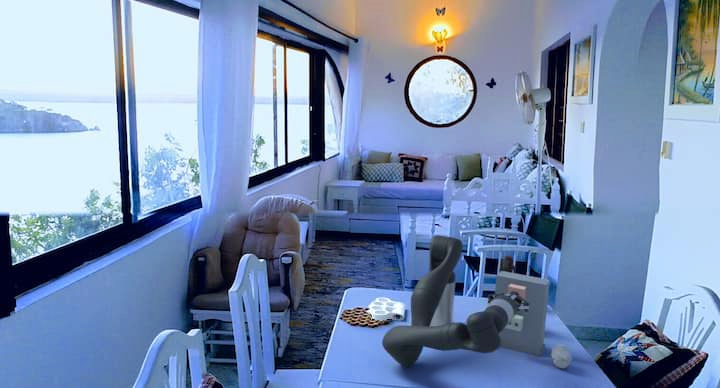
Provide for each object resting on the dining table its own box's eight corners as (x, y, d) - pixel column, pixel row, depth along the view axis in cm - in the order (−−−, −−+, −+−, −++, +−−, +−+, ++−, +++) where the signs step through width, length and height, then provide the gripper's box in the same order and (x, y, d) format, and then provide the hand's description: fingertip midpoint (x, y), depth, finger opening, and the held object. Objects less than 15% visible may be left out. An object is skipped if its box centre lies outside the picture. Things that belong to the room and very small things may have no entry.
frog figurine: (565, 361, 167) (567, 341, 166) (574, 372, 160) (577, 351, 159) (546, 361, 167) (548, 340, 166) (555, 372, 160) (557, 351, 159)
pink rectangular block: (522, 302, 165) (523, 289, 164) (506, 298, 168) (507, 286, 167) (525, 298, 168) (526, 286, 167) (509, 295, 170) (510, 283, 170)
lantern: (516, 303, 216) (522, 232, 211) (513, 310, 209) (519, 237, 204) (496, 300, 219) (502, 230, 214) (492, 306, 212) (498, 234, 207)
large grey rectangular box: (540, 356, 170) (547, 286, 166) (488, 343, 178) (494, 275, 174) (545, 347, 177) (551, 279, 173) (495, 335, 185) (500, 269, 181)
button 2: (520, 331, 167) (521, 320, 166) (504, 328, 169) (505, 316, 168) (522, 328, 170) (523, 316, 169) (507, 324, 172) (508, 313, 171)
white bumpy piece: (403, 325, 191) (363, 322, 193) (405, 307, 209) (369, 304, 211) (403, 316, 191) (363, 313, 193) (405, 299, 208) (369, 296, 210)
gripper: (524, 304, 147) (537, 287, 162) (478, 294, 153) (495, 279, 168) (522, 329, 148) (535, 310, 163) (477, 319, 155) (493, 301, 170)
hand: (514, 294), depth 166 cm, fingers closed
